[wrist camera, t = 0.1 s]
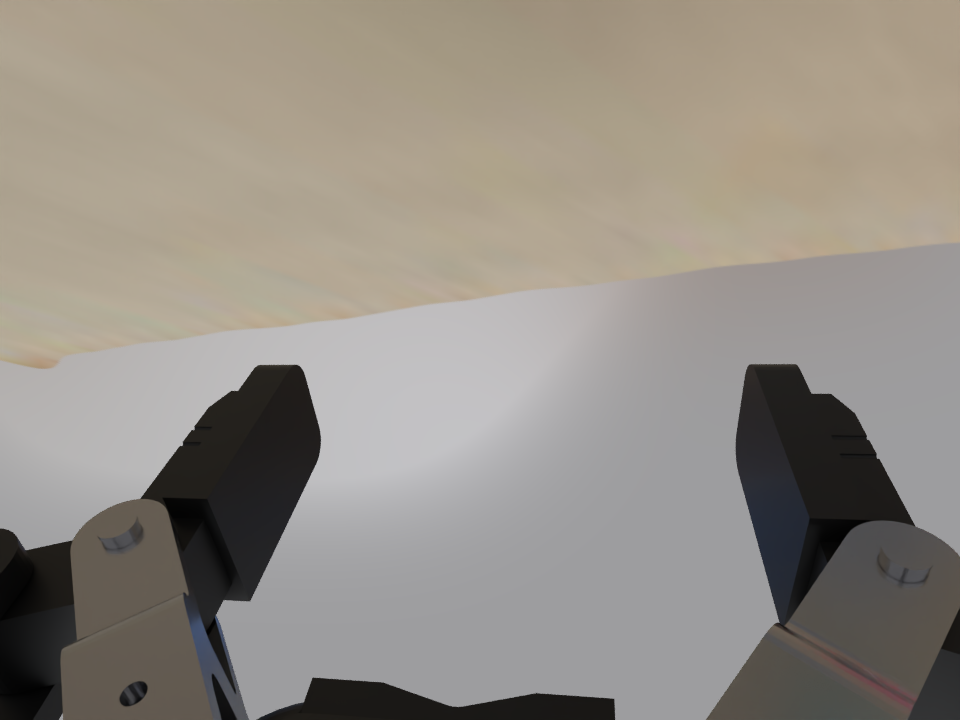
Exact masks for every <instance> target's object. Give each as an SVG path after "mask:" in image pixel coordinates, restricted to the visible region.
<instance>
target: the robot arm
mask: <svg viewBox="0 0 960 720" xmlns="http://www.w3.org/2000/svg"><path fill="white" fill-rule="evenodd" d="M866 437H867V435H866V433H865V431H864V430H863V428H862V426H861V424H860V422H859V420H858V419H857V417H856V415H855V413H854V412H852V411H851V410H850V409H849V408H847V407H846V406H845V405H844V404H843V403H841V402H840V401H839V400H838V399H836V398H835V397H834V396H833V395H832V394H811V392H810V390H809V388H808V385H807V383H806V381H805V379H804V377H803V375H802V373H801V371H800V369H799V367H798V366H797V365H796V364H778V365H777V364H768V365H767V364H761V365H760V364H759V365H758V364H751V365H749V366H748V367H747V370H746V374H745V380H744V387H743V393H742V400H741V407H740V414H739V421H738V428H737V434H736V461H737V468H738V472H739V476H740V480H741V483H742V487H743V491H744V494H745V498H746V502H747V505H748V509H749V513H750V516H751V520H752V523H753V527H754V530H755V535H756V538H757V541H758V546H759V549H760V553H761V556H762V560H763V564H764V567H765V571H766V575H767V578H768V581H769V586H770V589H771V593H772V597H773V600H774V604H775V607H776V611H777V615H778V619H779V622H780V623H776V624H774V625H773V626H772V627H771V628H770V629H769V630H768V632H767V633H766V634H765V636H764V637H763V638H762V640H761V641H760V643H759V644H758V646H757V647H756V649H755V650H754V651H753V653H752V654H751V656H750V657H749V659H748V660H747V662H746V663H745V664H744V666H743V667H742V669H741V670H740V672H739V673H738V675H737V676H736V677H735V679H734V680H733V682H732V683H731V684H730V686H729V688H728V689H727V691H726V692H725V693H724V695H723V696H722V697H721V699H720V700H719V702H718V703H717V705H716V706H715V708H714V709H713V710H712V712H711V713H710V715H709V716H708V718H707V719H706V720H960V557H959V555H958V554H957V553H956V552H955V551H954V550H953V549H952V548H951V547H950V546H949V545H948V544H946V543H945V542H943V541H942V540H941V539H939V538H938V537H936V536H934V535H933V534H931V533H929V532H927V531H925V530H922V529H920V528H917V527H915V525H914V523H913V521H912V519H911V517H910V515H909V514H908V512H907V510H906V508H905V506H904V504H903V502H902V501H901V499H900V497H899V495H898V493H897V491H896V489H895V487H894V486H893V484H892V482H891V480H890V478H889V476H888V475H887V472H886V471H885V469H884V467H883V465H882V463H881V461H880V459H877V457H876V452H875V450H874V449H873V446H872V444H871V443H870V441H869V440H867V438H866ZM320 446H321V436H320V429H319V425H318V421H317V418H316V414H315V411H314V407H313V403H312V399H311V396H310V392H309V388H308V385H307V381H306V378H305V375H304V372H303V370H302V369H301V367H300V366H298V365H258V366H257V367H255V368H254V370H253V371H252V372H251V374H250V375H249V377H248V378H247V379H246V381H245V382H244V384H243V385H242V386H241V388H240V389H239V391H231V392H229V393H228V394H227V395H225V396H224V397H222V398H221V399H220V400H218V401H217V402H216V403H214V404H213V405H212V406H210V407H209V408H208V409H207V410H206V412H205V413H204V415H203V416H202V417H201V418H200V420H199V421H198V423H197V424H196V425H195V430H192V431H191V432H190V433H189V434H188V436H187V437H186V439H185V440H184V441H183V446H180V447H179V448H178V449H177V451H176V452H175V453H174V455H173V456H172V457H171V459H170V460H169V461H168V463H167V464H166V465H165V467H164V468H163V469H162V471H161V472H160V473H159V475H158V476H157V477H156V479H155V480H154V481H153V483H152V484H151V485H150V487H149V488H148V489H147V491H146V492H145V493H144V495H143V496H142V497H141V499H137V500H130V501H126V502H123V503H119V504H117V505H114V506H112V507H110V508H107V509H106V510H104V511H102V512H100V513H99V514H97V515H96V516H94V517H93V518H92V519H90V520H89V521H88V522H87V523H86V524H85V525H84V526H83V527H82V528H81V529H80V530H79V531H78V533H77V534H76V536H75V537H74V539H73V540H72V541H68V542H63V543H58V544H54V545H49V546H45V547H40V548H35V549H31V550H25V549H24V547H23V546H22V544H21V543H20V541H19V540H18V538H17V537H16V536H15V534H14V533H13V532H11V531H9V530H6V529H0V720H59V718H60V717H61V715H62V713H63V720H249V718H248V716H247V713H246V710H245V707H244V704H243V700H242V697H241V693H240V690H239V686H238V683H237V680H236V676H235V673H234V670H233V666H232V663H231V659H230V656H229V652H228V649H227V646H226V642H225V639H224V635H223V632H222V629H221V625H220V623H219V621H218V618H217V616H216V614H217V612H218V610H219V608H220V606H221V604H222V602H223V600H233V601H250V600H251V598H252V596H253V594H254V592H255V590H256V588H257V586H258V583H259V582H260V579H261V577H262V575H263V573H264V571H265V569H266V567H267V565H268V563H269V561H270V558H271V557H272V555H273V552H274V550H275V548H276V546H277V544H278V542H279V540H280V538H281V536H282V534H283V532H284V530H285V527H286V525H287V523H288V521H289V519H290V517H291V515H292V513H293V511H294V509H295V507H296V505H297V502H298V500H299V498H300V496H301V494H302V492H303V490H304V488H305V486H306V484H307V482H308V480H309V478H310V475H311V473H312V471H313V469H314V467H315V465H316V463H317V460H318V457H319V453H320ZM614 706H615V705H614V699H609V698H595V697H580V696H567V695H552V694H537V693H536V694H530V695H525V696H519V697H514V698H509V699H503V700H497V701H492V702H487V703H481V704H475V705H470V706H464V707H452V706H448V705H445V704H442V703H439V702H436V701H433V700H431V699H428V698H425V697H422V696H419V695H417V694H413V693H410V692H408V691H405V690H402V689H400V688H396V687H394V686H391V685H388V684H385V683H381V682H367V681H352V680H338V679H324V678H312V681H311V684H310V687H309V690H308V692H307V695H306V698H305V701H304V703H298V704H295V705H291V706H288V707H285V708H282V709H279V710H276V711H274V712H272V713H269V714H267V715H265V716H263V717H260V718H259V719H257V720H615V707H614Z"/></svg>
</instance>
